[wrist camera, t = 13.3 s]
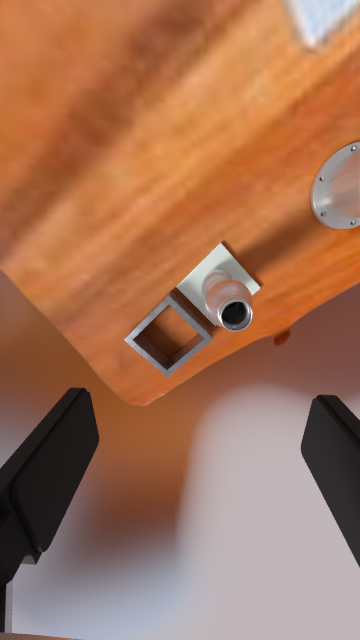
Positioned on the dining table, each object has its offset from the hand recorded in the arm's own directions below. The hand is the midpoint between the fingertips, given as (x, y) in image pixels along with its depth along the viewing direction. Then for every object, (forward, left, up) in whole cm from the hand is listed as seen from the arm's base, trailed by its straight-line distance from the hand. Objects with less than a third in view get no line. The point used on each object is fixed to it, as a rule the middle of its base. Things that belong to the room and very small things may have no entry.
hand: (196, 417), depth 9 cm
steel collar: (+12, +4, -36) cm, 38 cm away
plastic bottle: (-3, +4, -35) cm, 35 cm away
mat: (-2, +4, -36) cm, 36 cm away
